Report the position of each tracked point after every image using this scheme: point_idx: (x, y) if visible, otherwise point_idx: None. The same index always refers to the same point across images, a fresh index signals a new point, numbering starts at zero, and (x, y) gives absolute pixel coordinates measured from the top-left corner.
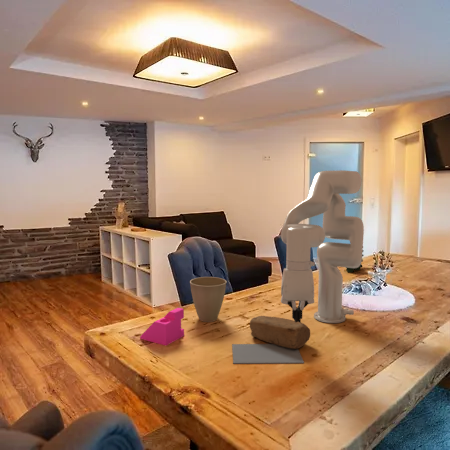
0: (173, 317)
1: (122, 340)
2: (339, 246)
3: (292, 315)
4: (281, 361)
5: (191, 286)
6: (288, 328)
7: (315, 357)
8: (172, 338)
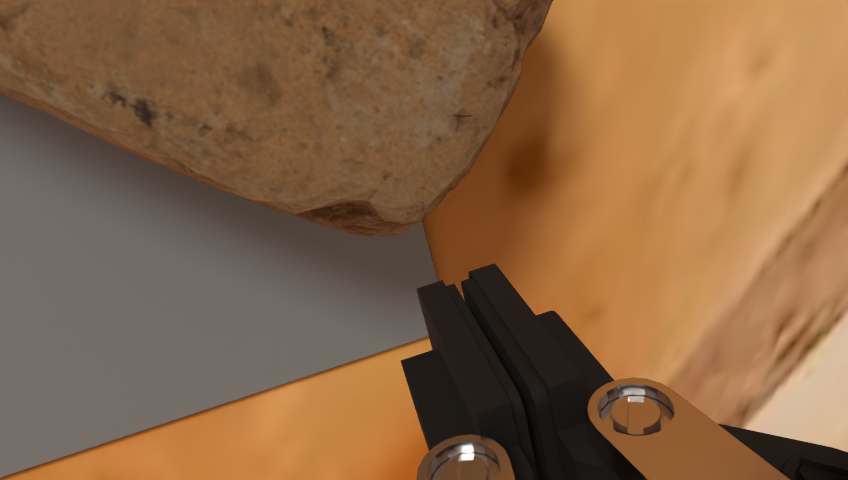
0: None
1: None
2: None
3: (412, 397)
4: (282, 368)
5: None
6: (312, 207)
7: (532, 207)
8: None
